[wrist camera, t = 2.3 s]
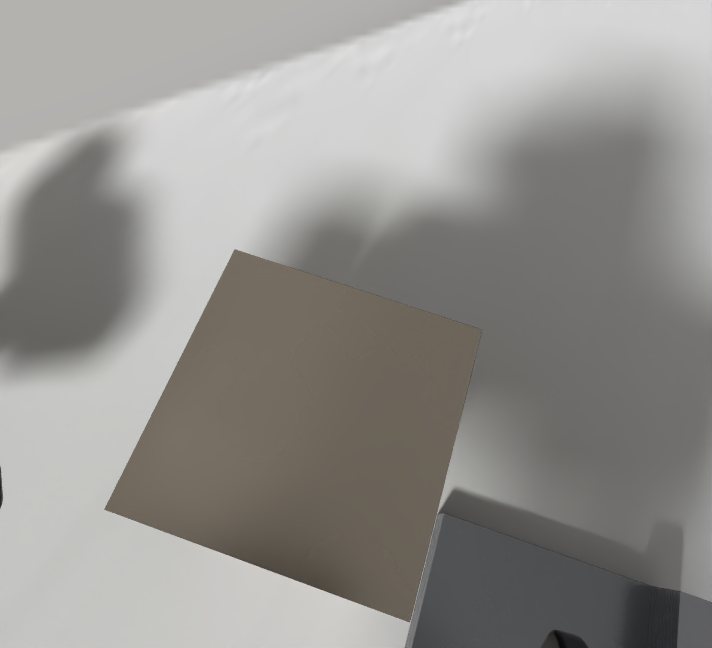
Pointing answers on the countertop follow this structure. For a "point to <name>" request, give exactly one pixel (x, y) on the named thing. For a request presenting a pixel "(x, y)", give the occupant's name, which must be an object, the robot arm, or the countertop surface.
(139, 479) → the block
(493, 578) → the plate
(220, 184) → the countertop surface
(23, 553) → the countertop surface
